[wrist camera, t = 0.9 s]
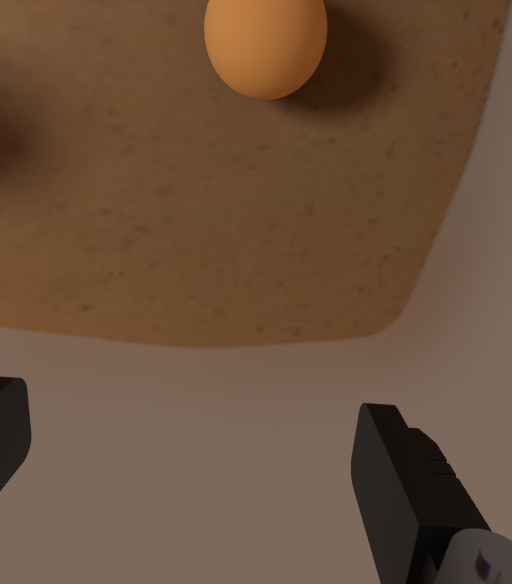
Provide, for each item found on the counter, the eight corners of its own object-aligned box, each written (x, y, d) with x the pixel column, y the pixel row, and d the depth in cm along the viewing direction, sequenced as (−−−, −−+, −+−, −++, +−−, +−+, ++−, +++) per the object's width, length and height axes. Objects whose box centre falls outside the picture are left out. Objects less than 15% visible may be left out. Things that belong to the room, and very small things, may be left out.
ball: (212, -19, 23) (197, -78, 17) (324, -12, 23) (346, -68, 17) (209, 102, 24) (194, 86, 19) (312, 109, 24) (328, 95, 19)
